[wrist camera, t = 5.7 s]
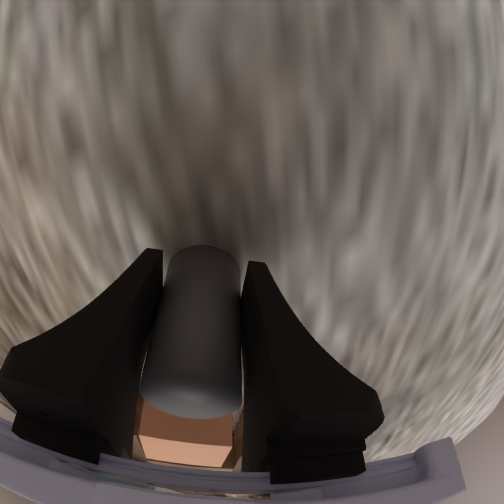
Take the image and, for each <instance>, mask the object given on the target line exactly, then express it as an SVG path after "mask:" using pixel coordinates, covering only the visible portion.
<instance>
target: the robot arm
mask: <svg viewBox="0 0 504 504" xmlns="http://www.w3.org/2000/svg"><path fill="white" fill-rule="evenodd" d="M162 290H163V250H159V249H151V248H147V249H145V250H144V251H143V252H142V253H141V255H140V256H139V257H138V258H137V259H136V260H135V261H134V262H133V263H132V264H131V265H130V266H129V267H128V268H127V269H126V270H125V271H124V272H123V273H122V274H121V275H120V277H119V278H118V279H117V280H115V281H114V282H113V283H112V284H111V285H110V286H109V287H108V288H107V289H106V290H105V291H104V292H102V293H101V294H100V295H99V296H98V297H97V298H96V299H94V300H93V301H92V302H91V303H89V304H88V305H87V306H85V307H84V308H83V309H82V310H80V311H79V312H77V313H76V314H74V315H73V316H71V317H70V318H68V319H67V320H65V321H64V322H62V323H61V324H59V325H57V326H55V327H54V328H52V329H50V330H48V331H46V332H45V333H43V334H41V335H39V336H37V337H35V338H33V339H30V340H28V341H26V342H23V343H21V344H19V345H17V346H14V347H12V348H11V350H10V351H9V353H8V355H7V357H6V359H5V361H4V363H3V366H2V368H1V370H0V392H1V393H2V395H3V396H4V397H5V398H6V399H7V401H8V402H9V403H10V404H11V405H12V406H13V407H14V408H15V410H16V411H17V414H16V417H15V420H14V423H12V422H10V421H8V420H5V419H3V418H1V417H0V485H1V486H3V487H5V488H7V489H8V490H10V491H12V492H14V493H16V494H18V495H20V496H22V497H25V498H27V499H29V500H31V501H33V502H35V503H38V504H437V503H439V502H441V501H444V500H446V499H448V498H450V497H452V496H455V495H457V494H459V493H461V492H463V491H465V490H466V485H465V482H464V478H463V474H462V471H461V467H460V464H459V460H458V457H457V454H456V451H455V447H454V444H453V441H452V438H451V437H448V438H444V439H441V440H438V441H434V442H431V443H428V444H426V445H424V446H422V447H420V448H419V449H418V450H416V451H415V452H414V453H410V454H406V455H402V456H398V457H393V458H389V459H384V460H379V461H373V462H368V463H365V461H364V456H363V451H364V450H366V444H365V439H366V438H367V437H368V436H369V435H370V434H372V433H373V432H374V431H375V430H377V429H378V428H379V427H380V426H381V424H382V423H383V421H384V418H385V417H384V414H383V410H382V406H381V403H380V400H379V397H378V395H377V392H376V391H375V390H374V389H373V388H371V387H370V386H368V385H367V384H365V383H364V382H362V381H361V380H360V379H358V378H357V377H355V376H354V375H353V374H351V373H350V372H349V371H348V370H346V369H345V368H344V367H343V366H342V365H340V364H339V363H338V362H337V361H336V360H335V359H334V358H333V357H332V356H331V355H330V354H329V353H327V352H326V351H325V350H324V349H323V348H322V347H321V346H320V345H319V344H318V342H317V341H316V340H315V339H314V338H313V337H312V336H311V335H310V333H309V332H308V331H307V330H306V329H305V327H304V326H303V325H302V323H301V322H300V321H299V319H298V318H297V316H296V315H295V314H294V312H293V311H292V309H291V308H290V306H289V305H288V303H287V301H286V300H285V298H284V297H283V295H282V293H281V292H280V290H279V288H278V286H277V284H276V283H275V281H274V279H273V277H272V275H271V273H270V271H269V269H268V267H267V265H266V264H265V263H263V262H255V261H249V262H248V266H247V271H246V276H245V280H244V285H243V290H242V294H241V347H242V359H243V369H244V414H243V444H242V464H241V472H228V471H211V470H198V469H188V468H180V467H172V466H165V465H158V464H152V463H146V462H140V461H135V460H132V455H133V438H134V426H135V416H136V407H137V399H138V392H139V385H140V379H141V373H142V367H143V363H144V359H145V356H146V352H147V349H148V345H149V342H150V337H151V333H152V329H153V325H154V321H155V317H156V313H157V309H158V305H159V301H160V297H161V293H162ZM83 470H84V471H83ZM86 471H88V472H86ZM89 472H91V473H95V474H98V475H102V476H106V477H110V478H114V479H119V480H123V481H128V482H133V483H138V484H143V485H149V486H155V487H162V488H168V489H176V490H185V491H194V492H207V493H224V494H271V496H270V499H269V500H251V499H244V498H230V497H213V496H199V495H188V494H178V493H170V492H164V491H157V490H151V489H145V488H140V487H135V486H130V485H124V484H119V483H114V482H106V481H99V480H98V479H97V477H96V476H95V475H94V474H91V473H89Z"/></svg>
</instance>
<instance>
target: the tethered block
mask: <svg viewBox="0 0 504 504" xmlns="http://www.w3.org/2000/svg"><path fill="white" fill-rule="evenodd" d="M140 393H141V395H142V397H143V398H144V405H143V411H142V417H141V423H140V429H139V438H140V441H141V444H142V447H143V450H144V453H145V456H146V458H148V459H154V460H160V461H167V462H174V463H181V464H190V465H199V466H210V467H221V466H222V464H223V462H224V461H225V459H226V457H227V455H228V454H229V452H230V450H231V448H232V412H234V411H236V410H237V409H238V408H239V407H240V405H241V403H242V370H241V292H240V270H239V267H238V265H237V263H236V262H235V260H234V259H233V258H232V257H231V256H230V255H229V254H227V253H226V252H224V251H222V250H220V249H218V248H215V247H210V246H193V247H189V248H186V249H184V250H182V251H180V252H179V253H177V254H176V255H175V256H174V257H173V259H172V260H171V262H170V264H169V268H168V271H167V275H166V278H165V282H164V286H163V290H162V293H161V297H160V301H159V305H158V309H157V313H156V317H155V321H154V325H153V329H152V333H151V337H150V342H149V346H148V350H147V355H146V359H145V364H144V369H143V373H142V378H141V383H140Z"/></svg>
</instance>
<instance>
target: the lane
mask: <svg viewBox="0 0 504 504" xmlns="http://www.w3.org/2000/svg"><path fill="white" fill-rule="evenodd" d="M143 405H144V398H143V397H142V395H141V393H138V399H137V407H136V416H135V426H134V438H133V455H132V456H133V457H134V459H135V461H140V462H146V463H152V464H158V465H165V466H172V467H180V468H188V469H198V470H211V471H228V472H241V464H242V444H243V414H244V409H243V411H242V414H241V416H240V419H239V422H238V424H237V427H236V429H235V432H234V434H233V435H232V448H231V450H230V452H229V454H228V455H227V457H226V459H225V461H224V462H223V464H222V466H221V467H210V466H199V465H190V464H181V463H174V462H167V461H160V460H154V459H148V458H146V456H145V453H144V450H143V447H142V444H141V441H140V438H139V429H140V423H141V417H142V411H143Z"/></svg>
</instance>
